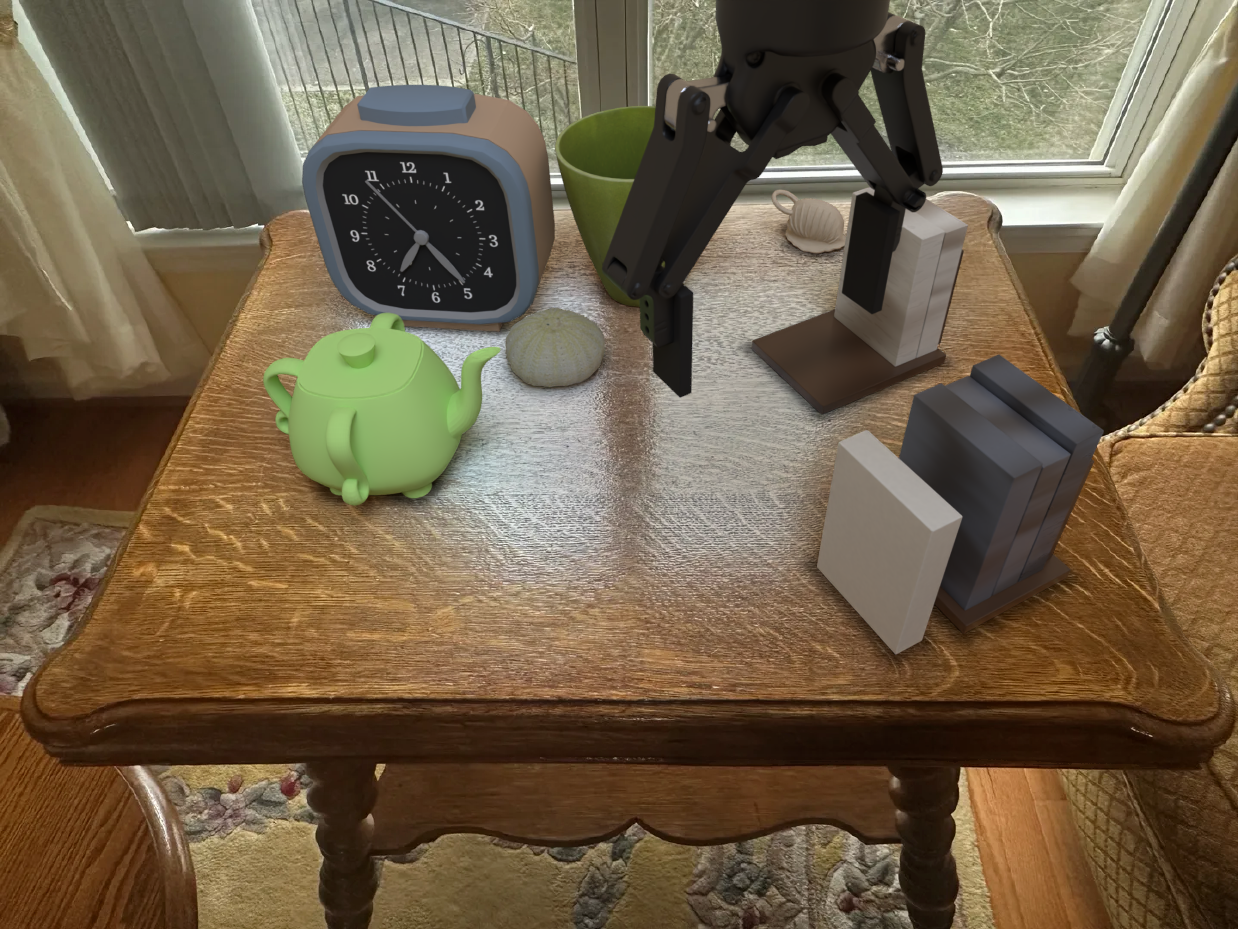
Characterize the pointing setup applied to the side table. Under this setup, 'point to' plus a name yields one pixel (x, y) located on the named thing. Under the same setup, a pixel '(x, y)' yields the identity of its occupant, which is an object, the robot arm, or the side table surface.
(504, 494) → the side table surface
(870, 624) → the white book
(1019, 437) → the grey rack
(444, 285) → the alarm clock
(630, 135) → the flower pot
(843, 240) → the decorative ornament
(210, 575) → the side table surface
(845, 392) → the beige and brown bookend
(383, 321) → the teapot
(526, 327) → the sea urchin shell
